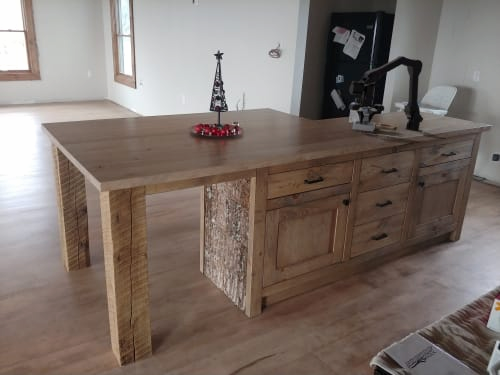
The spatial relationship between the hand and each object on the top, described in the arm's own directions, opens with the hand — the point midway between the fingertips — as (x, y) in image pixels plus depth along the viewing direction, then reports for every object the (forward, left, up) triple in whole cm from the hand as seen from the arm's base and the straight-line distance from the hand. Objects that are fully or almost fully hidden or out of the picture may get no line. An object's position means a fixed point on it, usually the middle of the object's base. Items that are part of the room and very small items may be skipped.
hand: (364, 122), depth 252 cm
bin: (0, 0, -4) cm, 4 cm away
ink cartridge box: (+6, -19, -4) cm, 20 cm away
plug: (0, 0, -2) cm, 2 cm away
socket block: (-11, -11, -4) cm, 16 cm away
